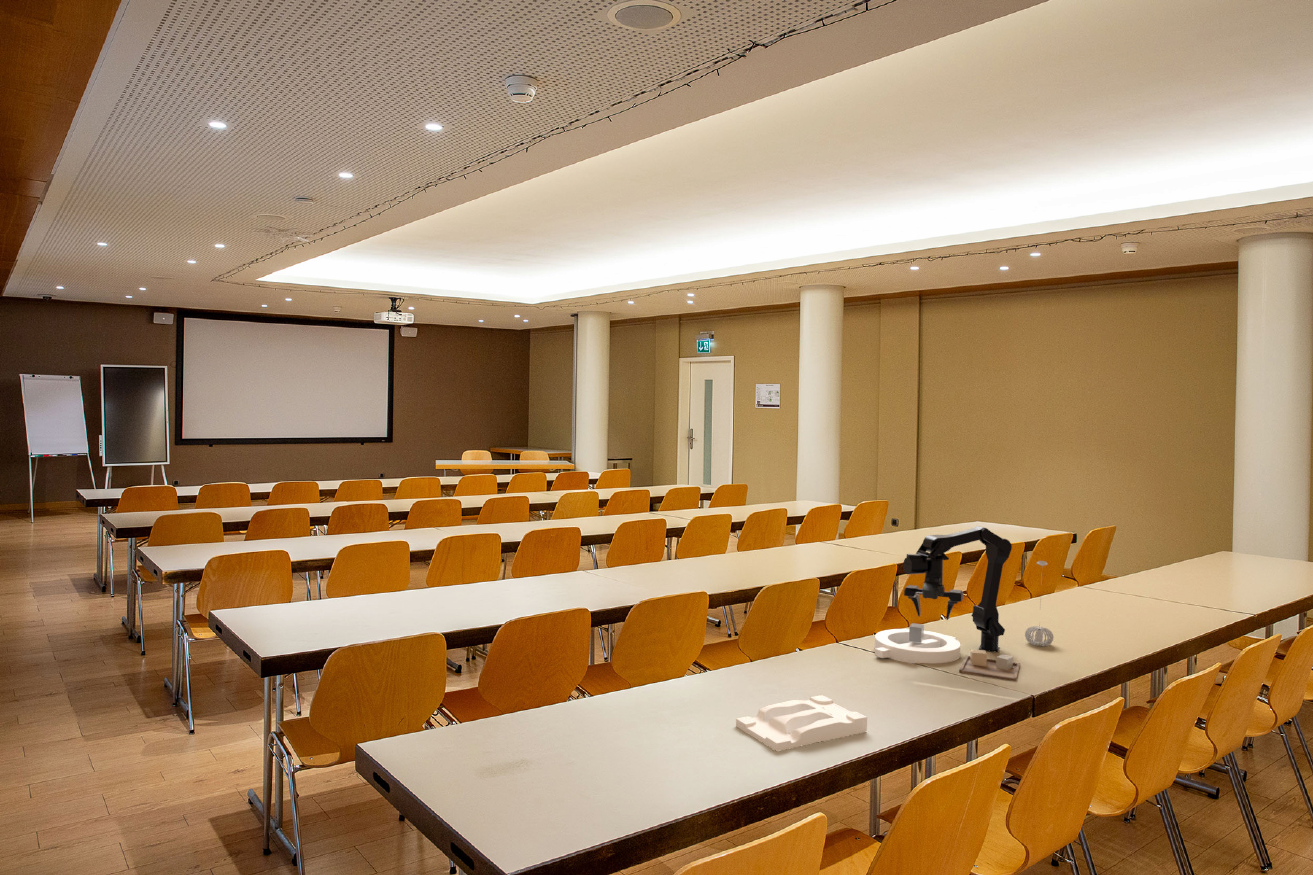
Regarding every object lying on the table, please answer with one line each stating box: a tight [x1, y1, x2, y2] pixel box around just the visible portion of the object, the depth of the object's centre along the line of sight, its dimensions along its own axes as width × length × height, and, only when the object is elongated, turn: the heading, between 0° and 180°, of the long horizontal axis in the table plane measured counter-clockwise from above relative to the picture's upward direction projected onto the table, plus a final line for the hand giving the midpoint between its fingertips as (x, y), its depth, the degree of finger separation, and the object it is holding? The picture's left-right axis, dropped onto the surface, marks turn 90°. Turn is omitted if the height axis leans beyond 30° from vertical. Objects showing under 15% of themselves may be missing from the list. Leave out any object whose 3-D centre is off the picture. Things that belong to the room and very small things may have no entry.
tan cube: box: [969, 648, 988, 666], centre depth 274 cm, size 4×4×4 cm
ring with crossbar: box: [874, 628, 961, 664], centre depth 288 cm, size 28×28×5 cm
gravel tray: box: [958, 655, 1021, 682], centre depth 269 cm, size 18×17×1 cm
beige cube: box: [995, 653, 1014, 670], centre depth 271 cm, size 4×4×4 cm
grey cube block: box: [908, 622, 925, 643], centre depth 288 cm, size 5×4×5 cm
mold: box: [735, 694, 868, 752], centre depth 217 cm, size 18×29×5 cm, turn 119°
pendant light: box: [1024, 560, 1054, 647], centre depth 300 cm, size 9×9×30 cm
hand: (933, 618), depth 286 cm, fingers open, 9 cm apart
